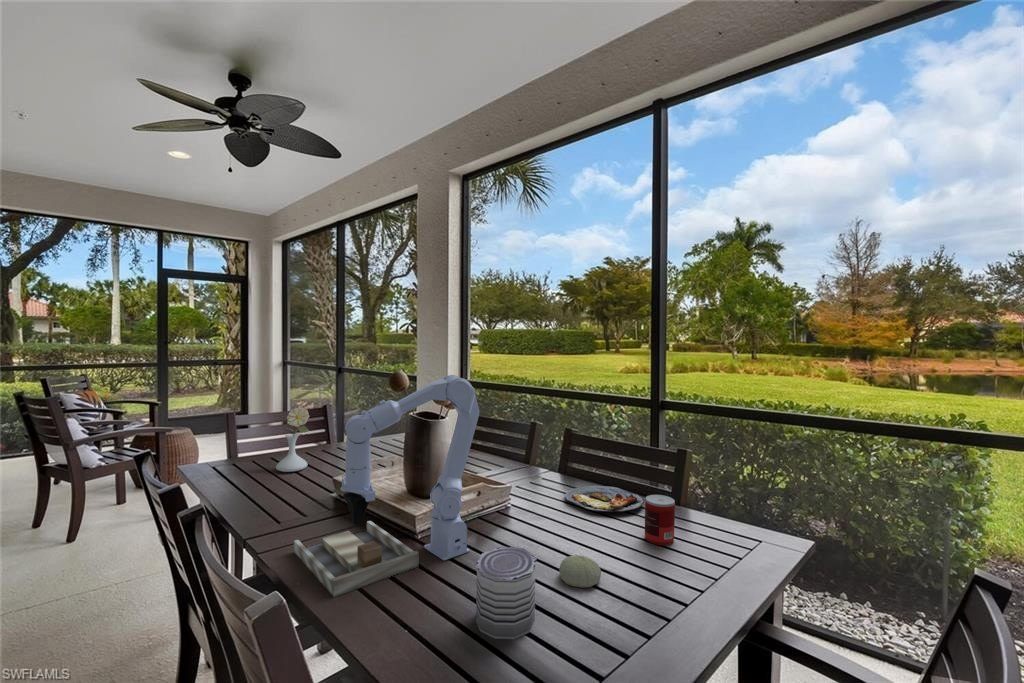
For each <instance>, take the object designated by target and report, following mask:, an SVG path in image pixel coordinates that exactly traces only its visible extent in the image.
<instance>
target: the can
mask: <svg viewBox="0 0 1024 683" xmlns="http://www.w3.org/2000/svg"><path fill="white" fill-rule="evenodd" d="M537 559H538V558H537V557H535V555H533V554H532V553H531V552H529V551H528V550H527V549H526V548H523V547H512V546H499V547H496V548H494V549H490V550H487V551H484V552H482V553H481V555H480V556H479V558H478V560H477V562H476V564H475V565H474V566H475V568H476V598H475V602H476V604H475V605H476V607H475V609H476V610H475V617H476V618H475V621H476V625H477V627H478V629H479V632H480V633H483V634H485V635H486V636H488V637H490V638H492V639H494V640H516V639H518V638H520V637H523V636H525V635H527V634H530V632H531V630H532V629H533V626H534V624H535V616H536V615H535V614H536V613H535V610H536V562H537Z"/></svg>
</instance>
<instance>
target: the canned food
mask: <svg viewBox="0 0 1024 683" xmlns="http://www.w3.org/2000/svg"><path fill="white" fill-rule="evenodd" d="M675 502H676V501H675V499H674V498H672V497H671V496H667V495H662V494H650V495H647V496H645V500H644V539H645V540H646V541H647V542H648V543H650V544H653V545H658V546H669V545H672V543H674V541H675V540H674V539H675V520H676V519H675V517H676V514H675V513H676V503H675Z"/></svg>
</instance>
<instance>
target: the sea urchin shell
mask: <svg viewBox="0 0 1024 683" xmlns="http://www.w3.org/2000/svg"><path fill="white" fill-rule="evenodd" d="M558 570H559V575H560V578H561V580H562V581H563V582H564V584H566V585H568V586H572V587H578V588H581V589H582V588H586V589H587V588H591V587H593V586H596V584H598V582H599V581H600V580H601V576H602V571H601V570H602V569H601V568H600V565H599V564H598V563H597V562H596V561H595V560H593V559H592V558H589V557H588V556H584V555H581V554H579V555H578V554H574V555H570V556H566V557H565V558H564V559H563V560H561V563H560V565H559V569H558Z"/></svg>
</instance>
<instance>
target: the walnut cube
mask: <svg viewBox="0 0 1024 683" xmlns="http://www.w3.org/2000/svg"><path fill="white" fill-rule="evenodd" d="M381 562H382V547H381V546H380V545H379V544H377V543H376V542H375V541H372V542H369V543H366V544H362V545H359V546H358V550H357V563H358V564H359V565H360V566H361V567H362V568H366V567H369V566H372V565H375V564H378V563H381Z"/></svg>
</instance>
